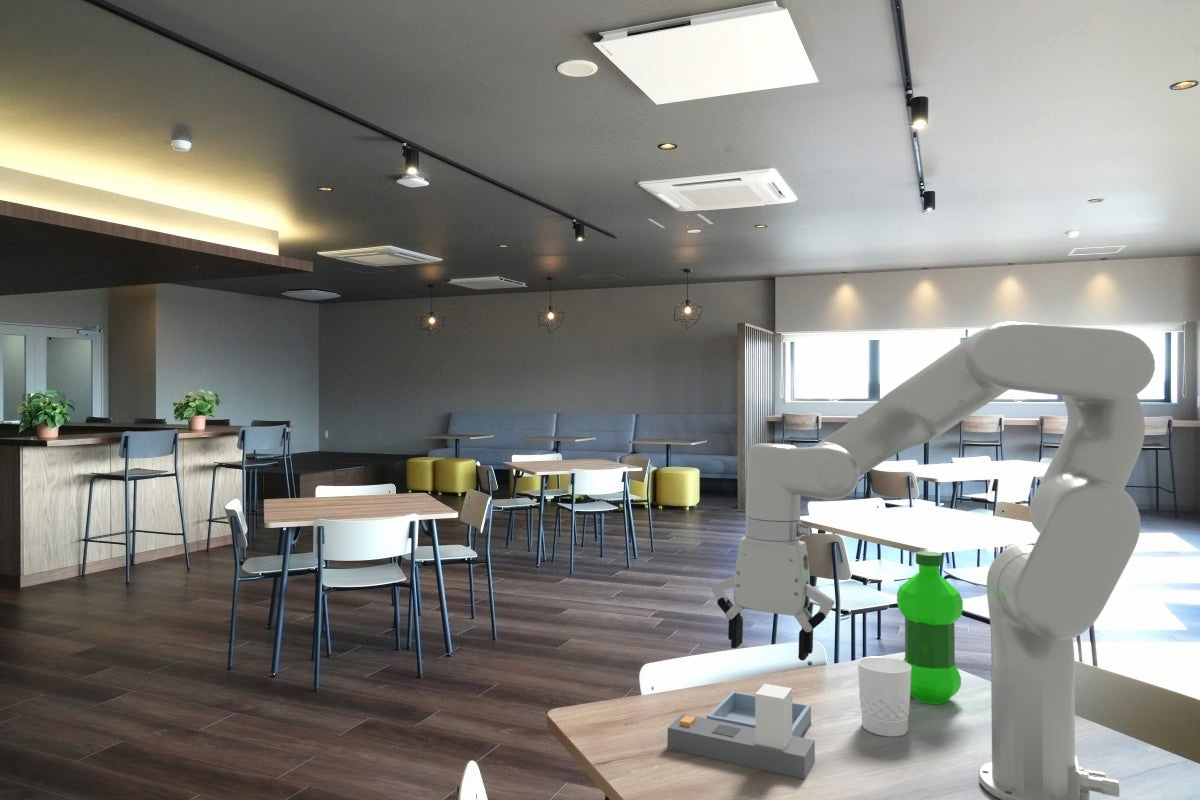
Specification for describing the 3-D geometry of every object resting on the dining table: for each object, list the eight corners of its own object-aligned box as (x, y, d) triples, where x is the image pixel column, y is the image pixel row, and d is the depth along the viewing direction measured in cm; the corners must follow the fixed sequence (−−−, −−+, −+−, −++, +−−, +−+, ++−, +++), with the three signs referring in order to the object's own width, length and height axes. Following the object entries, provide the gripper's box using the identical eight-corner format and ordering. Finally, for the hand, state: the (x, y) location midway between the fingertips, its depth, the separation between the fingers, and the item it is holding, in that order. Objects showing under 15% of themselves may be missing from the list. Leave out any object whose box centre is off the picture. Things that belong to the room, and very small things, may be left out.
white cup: (854, 732, 119) (853, 667, 119) (862, 715, 126) (862, 653, 126) (908, 742, 116) (908, 675, 116) (914, 724, 122) (914, 660, 123)
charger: (792, 753, 110) (792, 688, 110) (783, 766, 106) (783, 698, 106) (764, 747, 112) (764, 683, 112) (755, 759, 108) (755, 693, 108)
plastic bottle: (887, 698, 134) (886, 553, 134) (915, 683, 141) (914, 546, 141) (945, 714, 126) (944, 561, 127) (972, 698, 133) (971, 553, 134)
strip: (814, 761, 109) (814, 735, 109) (804, 779, 104) (804, 752, 104) (683, 733, 119) (683, 709, 119) (667, 748, 113) (667, 723, 113)
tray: (811, 724, 122) (811, 705, 122) (791, 753, 112) (791, 732, 112) (732, 709, 128) (732, 691, 128) (706, 735, 118) (706, 715, 118)
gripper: (840, 533, 109) (837, 655, 109) (722, 522, 117) (720, 635, 117) (829, 540, 102) (826, 670, 102) (705, 528, 110) (702, 648, 110)
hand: (769, 651), depth 109 cm, fingers open, 9 cm apart
